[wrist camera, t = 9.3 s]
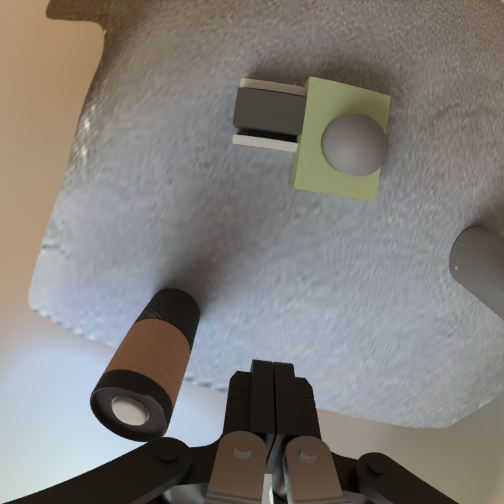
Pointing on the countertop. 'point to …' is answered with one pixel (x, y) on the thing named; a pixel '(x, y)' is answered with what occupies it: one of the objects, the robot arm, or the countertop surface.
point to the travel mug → (148, 369)
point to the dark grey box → (269, 111)
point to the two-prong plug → (333, 137)
